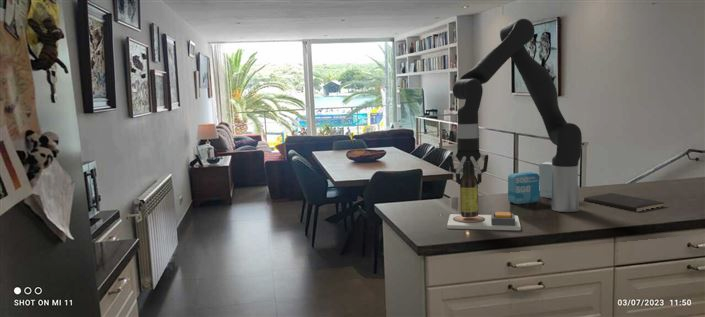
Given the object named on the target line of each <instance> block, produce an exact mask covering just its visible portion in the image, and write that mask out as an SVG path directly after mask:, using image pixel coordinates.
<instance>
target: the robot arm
mask: <svg viewBox="0 0 705 317" xmlns="http://www.w3.org/2000/svg"><path fill="white" fill-rule="evenodd" d="M534 36H535V27H534V24H533V23H532V22H531V21H530V20H529V19H528V18H520V19H516V20H514V21H511V22H509V23H507V24H506V25H504V26H502V27H501V29H500V31H499V38H500V41H501V42H500V43H499V44H498V45H497V46H495V47H494V48H493V49H492V50H490V51H489V52H488V53H486V54H485V55H484V56H482V57H481V59H480V60H479V61H478V62H477V63H476V64H475V65H474V66H473V67H472V68H471V69H470V70H468V71H467V72H466V73H464V74H463V75H461V76H460V77H458V79H457V80H456V81H455V82H454V83H453V86H452V94H453V96H454V97H455V98H456V99H458V100H462V101H463V100H465V101H464V105H463V106H460V107H459V108H458V109H457V129H456V142H457V143H456V146H457V147H456V148H457V151H456V154H449V155H448V162H449V169H450V172H451V173H454V174H455V182H456V183H457V185H460V179H461V173H460V172H461V170H462V169H463V165H464V162H465V161H472V166H473V165H474V169H475V170H476V172H477V173H476V174H477V175H476V176H477V177H476V178H477V184H478V185H480V183H482V181H483V180H482V177H483V176H482V175H483V173H486V172H488V164H489V163H488V162H489V154H487V153H486V154H482V153H481V152H480V127H479V109H480V106H481V102H482V98H483V93H484V90H483V89H484V88H483V84H486V83H488V82H489V81H490V80H491V79H492V78H493V77H494V75H496V73H497V72H498V71H499V70H500V69H501V67H502V66H504V64H505V63H506V62H507V61H508V60H509V59H510V58H511V61H512V62H513V63H514V65H515V67H516V69H517V71H518V72H519V74H520V77H521V78H522V80H523V82H524V85H525V87H526V90H527V91H528V94H529V95H530V97H531V99H532V102H533V103H534V104H535V107H536V110H537V111H538V113H539V115H540V117H541V119H542V121H543V124H544V128H545V129H546V133H547V135H548V139H549V140H550V142H551V143H552V144H554V145H555V146H556V153H555V156H553V157H552V158H551V159H552V160H551V162H552V198H551V211H552V210H553V211H555V212H560V213H561V212H563V213H572V212H579V211H580V209H579V208H580V186H579V161H580V159H581V156H582V144H583V143H582V140H583V139H582V138H583V137H582V136H583V135H582V131H581V129H580V127H579V126H578V125H577V124H575V123H572V122H567V121H566V119H565V117H564V115H563V114H562V111H561V110H560V107H559V101H558V92H557V87H556V85H555V83H554V80H553V78H552V76H551V74H550V72H549V71H548V70H547V69H546V68H545V67H544V66H543V65H542V64H540V63H539V62H538V61H536V60H535V59H534V58H533V57H532V56H531V55H530V54H529V52H528V50H527V49H526V45H527V44H528V43H530V42H531V41H532V40H533V38H534ZM480 158H481V159H482V161H483V168H481V167H480V165H479V163H478V161H479V160H480ZM456 159H457V160H458V161H459V164H458V166H457V168H455V165H454V164H455V163H454V161H455V160H456Z"/></svg>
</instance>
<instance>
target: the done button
mask: <svg viewBox="0 0 705 317" xmlns="http://www.w3.org/2000/svg"><path fill="white" fill-rule="evenodd" d="M494 213H495V218H511V214H512V213H511V212H510V211H495V212H494ZM510 213H511V214H510Z"/></svg>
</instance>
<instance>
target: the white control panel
mask: <svg viewBox="0 0 705 317" xmlns="http://www.w3.org/2000/svg"><path fill="white" fill-rule="evenodd" d="M510 214H511V218H495V212H491V213H490V214H478V216H476V217H469V218H468V217H462V216H461V213H460V214H459V213H454V214H453V213H450V214H449V216H448V221H447V224H446V229H450V230H451V229H455V230H456V229H457V230H490V231H495V230H496V231H521V230H522V228H521V223H520V219H519V216H518V215H515V214H514V213H511V212H510Z"/></svg>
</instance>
